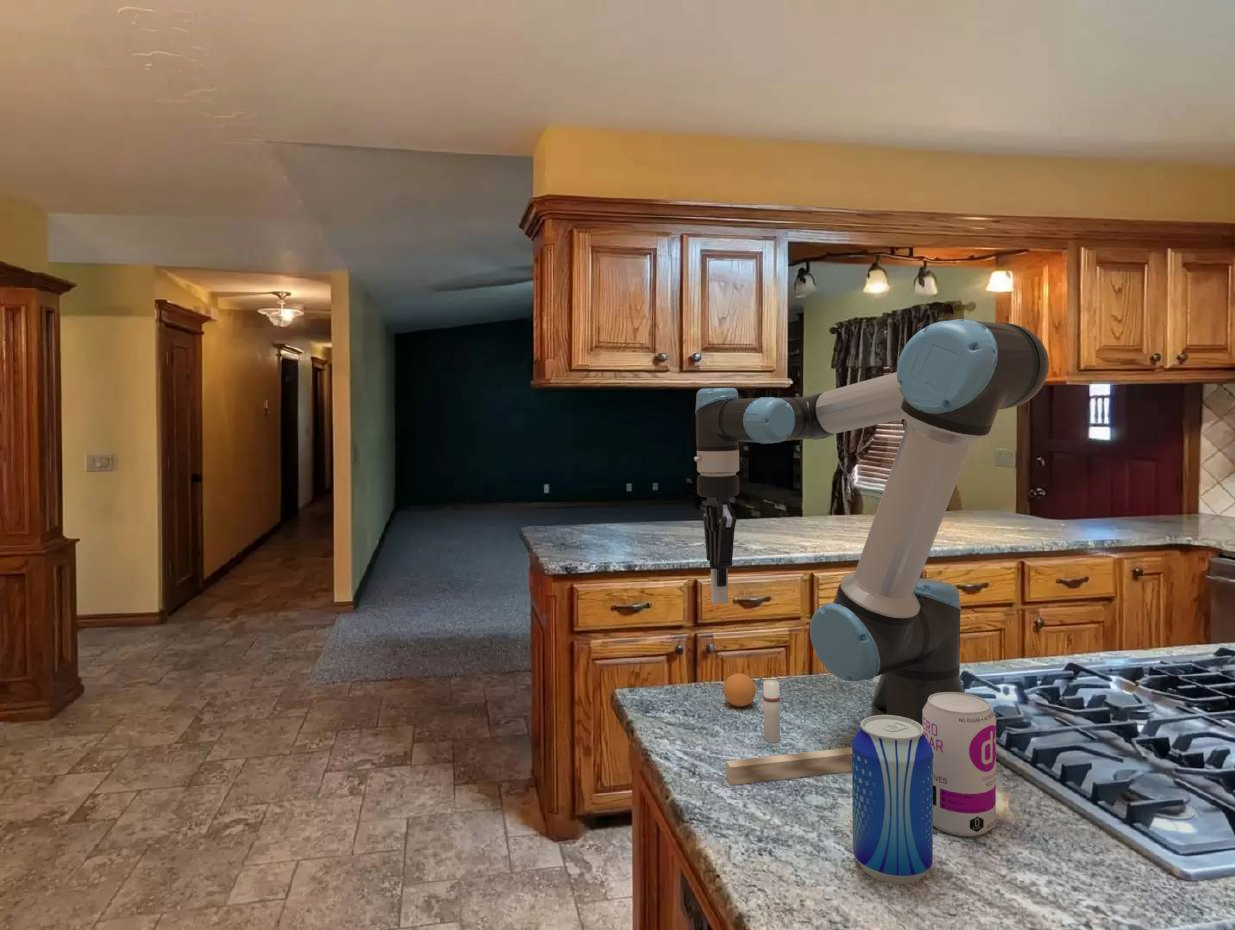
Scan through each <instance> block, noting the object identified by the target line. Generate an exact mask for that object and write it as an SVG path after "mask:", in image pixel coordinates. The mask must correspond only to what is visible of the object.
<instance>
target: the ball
mask: <svg viewBox="0 0 1235 930" xmlns="http://www.w3.org/2000/svg"><path fill="white" fill-rule="evenodd" d="M722 689H723V695H724V697H725V699H726V701H727V702H728V703H730V704H731V705H732V706H735V707H746V706H747V705H749V704H751V703H752V702H753V700H754V699H755V697H756V693H757V691H756V689H757V688H756V685H755V682H754V681H753V679H752V678H751V677H750V676H749V675H747V674H745V673H739V672H738V673H734V674H730V675H729V676H728V677H727V678H726V680H725V681H724V684H723V688H722Z"/></svg>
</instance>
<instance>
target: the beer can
mask: <svg viewBox="0 0 1235 930" xmlns="http://www.w3.org/2000/svg"><path fill="white" fill-rule="evenodd" d="M923 733H924V729H923V727H922V725H920V724H919V723H918V722H916V721H914V720H911V719H908V718H905V717H900V716H893V715H876V716H871V715H870V716H868V717H866V718H864V719H862V720H861V722H860V728H859V730H858V731H857V733H856V734H855V736H854V737H853V740H852V744H851V748H852V771H851V777H852V779H851V785H852V786H851V787H852V795H851V797H852V802H851V803H852V805H851V806H852V808H851V809H852V854H853V857H854V858H855V860H857V862H858V863H859V865H860V867H861V869H862V870H863V871H864V873H866V874H867V875H869V876H870V877H872V879H873V878H874V879H876V880H878V881H881V882H885V883H888V884H895V885H908V884H913V883H916V882H920V880H922V879H923V878H924V877H925V874H926V872H928V871H929V870H930V869H931V867H932V866H933V861H934V859H933V857H934V856H933V855H934V853H933V848H934V847H933V846H934V845H933V844H934V841H933V837H934V836H933V832H934V830H933V829H934V828H933V827H934V826H933V750H932V747H931V745H930V744H929V742H928V740H927V739H926V737H925V735H924V734H923Z"/></svg>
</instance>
